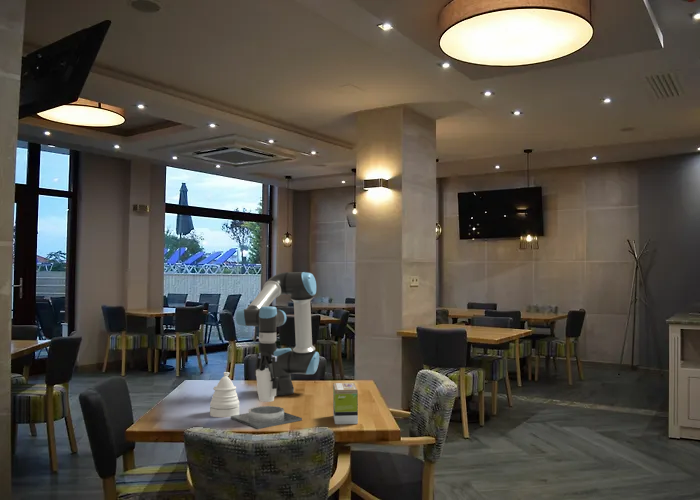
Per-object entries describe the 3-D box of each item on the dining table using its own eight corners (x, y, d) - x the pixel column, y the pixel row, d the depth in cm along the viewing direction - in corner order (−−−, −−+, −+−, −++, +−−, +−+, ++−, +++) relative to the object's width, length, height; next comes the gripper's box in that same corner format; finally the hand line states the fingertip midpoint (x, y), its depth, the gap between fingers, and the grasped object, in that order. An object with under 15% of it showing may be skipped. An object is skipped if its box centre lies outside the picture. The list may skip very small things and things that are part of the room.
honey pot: (214, 410, 261) (215, 370, 262) (242, 410, 261) (242, 371, 261) (206, 417, 248) (207, 375, 249) (235, 417, 248) (236, 376, 249)
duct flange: (273, 410, 261) (273, 402, 261) (301, 420, 244) (302, 410, 244) (230, 418, 246) (230, 409, 246) (257, 428, 230) (258, 418, 230)
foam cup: (272, 403, 240) (273, 372, 241) (252, 402, 242) (252, 371, 242) (280, 398, 249) (280, 368, 250) (260, 397, 251) (260, 367, 252)
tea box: (332, 415, 253) (332, 382, 254) (355, 415, 254) (355, 382, 254) (334, 424, 238) (334, 389, 239) (358, 424, 239) (358, 388, 239)
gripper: (246, 340, 253) (245, 391, 251) (274, 345, 236) (273, 399, 235) (261, 339, 258) (260, 389, 256) (289, 344, 241) (288, 397, 240)
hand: (266, 394), depth 246 cm, fingers closed on foam cup, 9 cm apart
